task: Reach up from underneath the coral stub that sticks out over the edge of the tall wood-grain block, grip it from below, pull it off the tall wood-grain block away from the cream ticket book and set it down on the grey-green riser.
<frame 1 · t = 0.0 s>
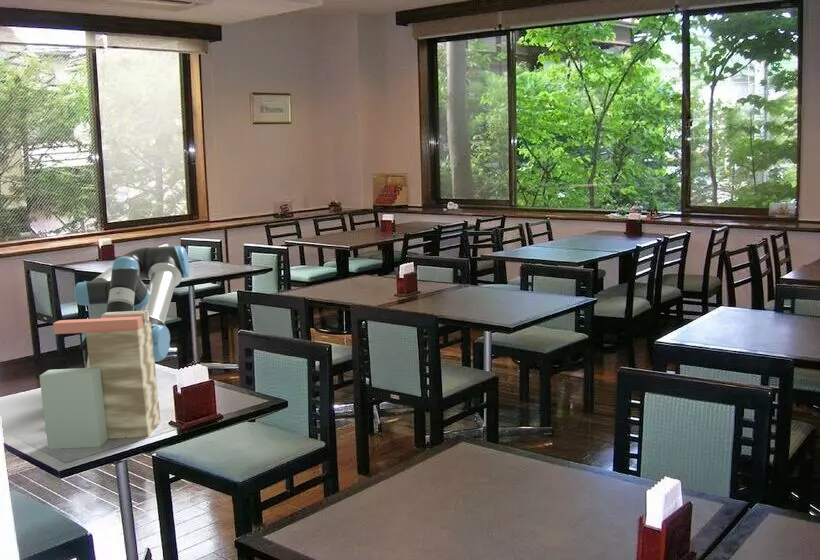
hand: (112, 371, 247), 15 cm above the table, tool tilted 35°, fingers open, 13 cm apart
tall wood-grain block: (130, 430, 240), on the table
stub: (99, 330, 232), point 30 cm above the table, touching tall wood-grain block
riser: (78, 444, 231), on the table
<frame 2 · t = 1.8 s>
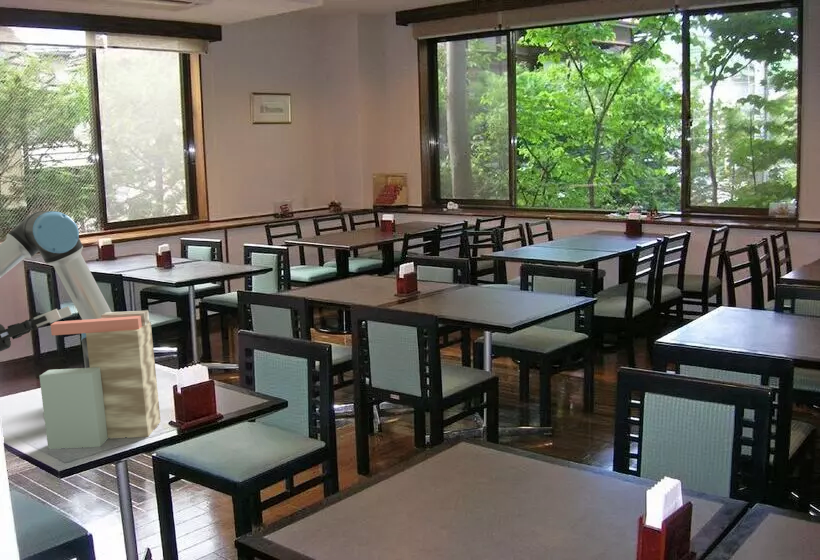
hand: (64, 311, 241), 34 cm above the table, tool pointing upward, fingers open, 13 cm apart
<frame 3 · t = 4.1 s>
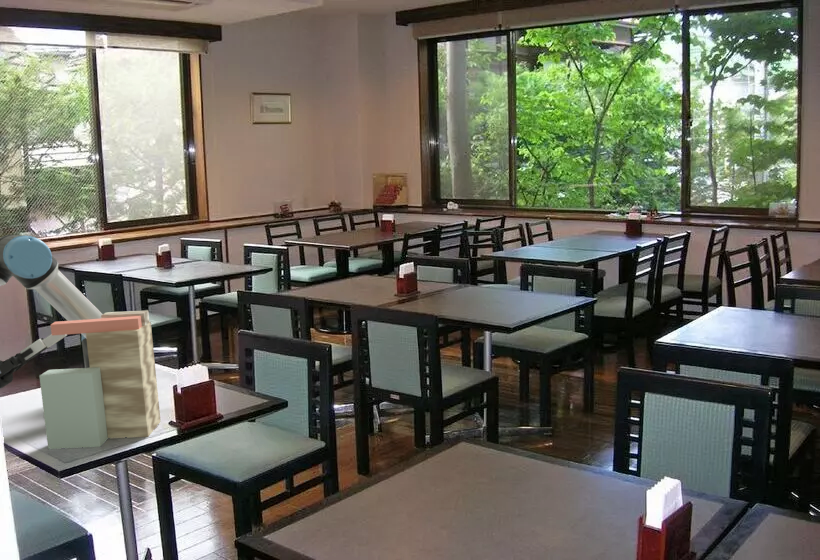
hand: (53, 336, 232), 29 cm above the table, tool pointing upward, fingers open, 13 cm apart
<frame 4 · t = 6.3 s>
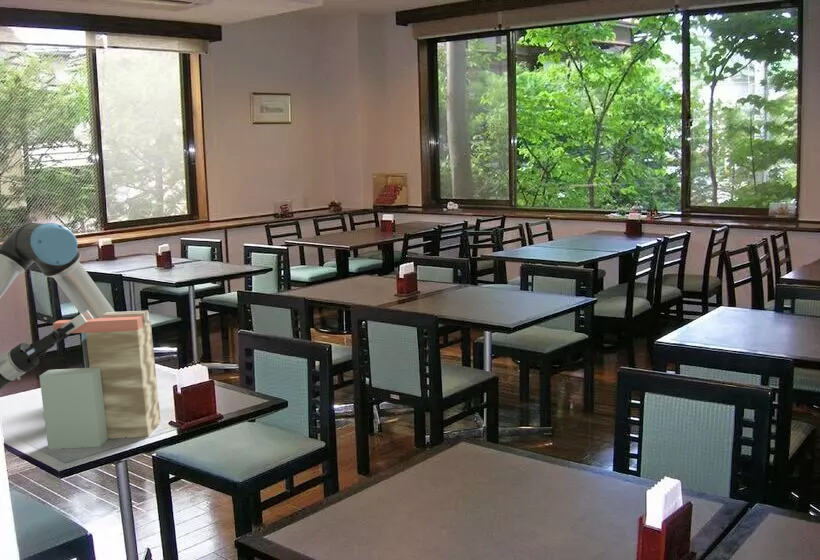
hand: (87, 316, 232), 34 cm above the table, tool pointing upward, fingers closed on stub, 4 cm apart
stub: (98, 330, 232), point 30 cm above the table, touching gripper, tall wood-grain block
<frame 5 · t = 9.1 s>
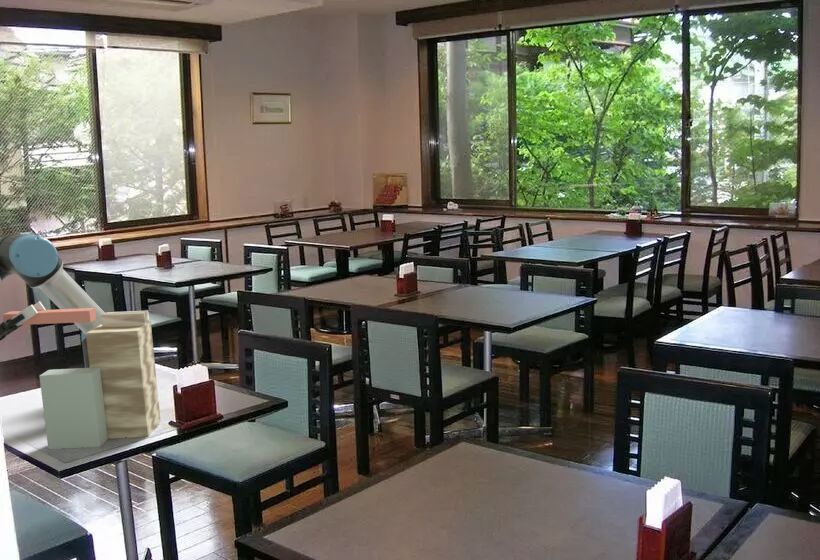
hand: (38, 307, 225), 38 cm above the table, tool pointing upward, fingers closed on stub, 4 cm apart
stub: (50, 322, 225), point 34 cm above the table, touching gripper
when the fingers open (27 cm above the table, at t = 11.5 s): stub drops 2 cm, resting on riser.
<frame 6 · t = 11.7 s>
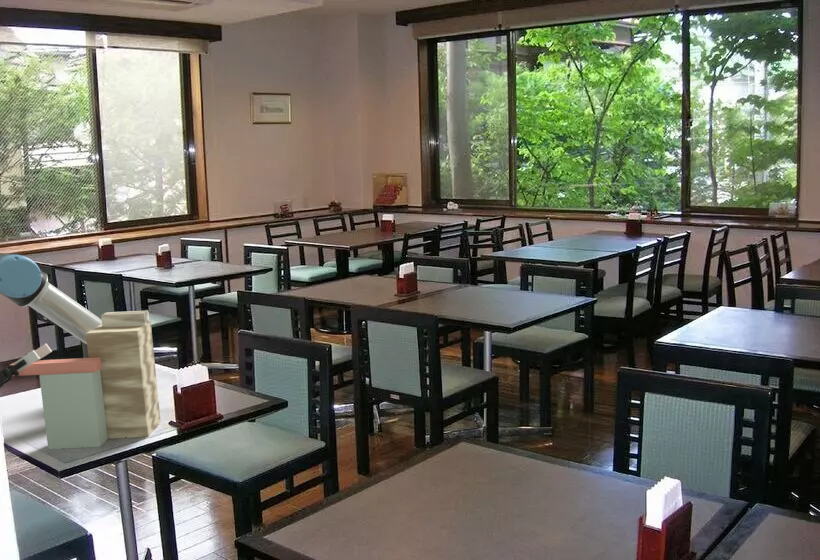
hand: (42, 350, 227), 26 cm above the table, tool pointing upward, fingers open, 7 cm apart
stub: (56, 372, 227), point 20 cm above the table, touching riser
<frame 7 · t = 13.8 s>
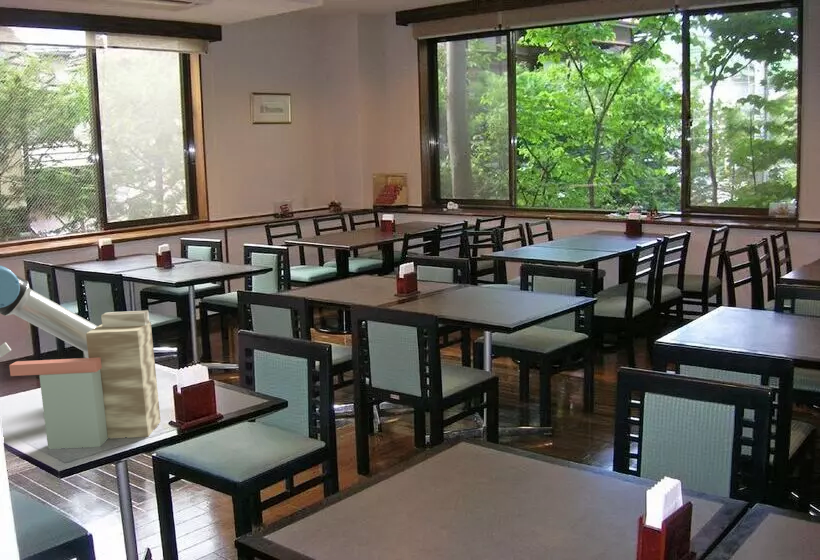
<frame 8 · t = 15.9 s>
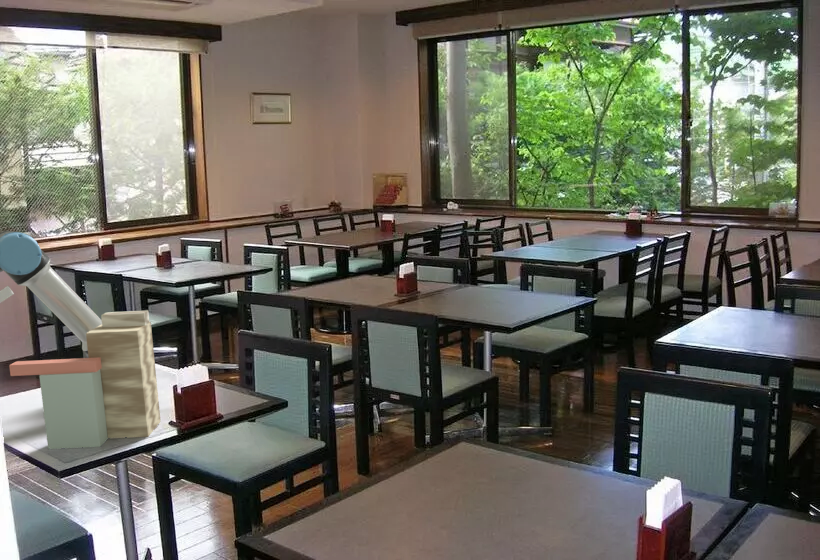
at the end: stub inside the target area on the riser (1.6 cm from its centre), point 20.5 cm above the riser's base; stub touching riser; the gripper is holding nothing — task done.
